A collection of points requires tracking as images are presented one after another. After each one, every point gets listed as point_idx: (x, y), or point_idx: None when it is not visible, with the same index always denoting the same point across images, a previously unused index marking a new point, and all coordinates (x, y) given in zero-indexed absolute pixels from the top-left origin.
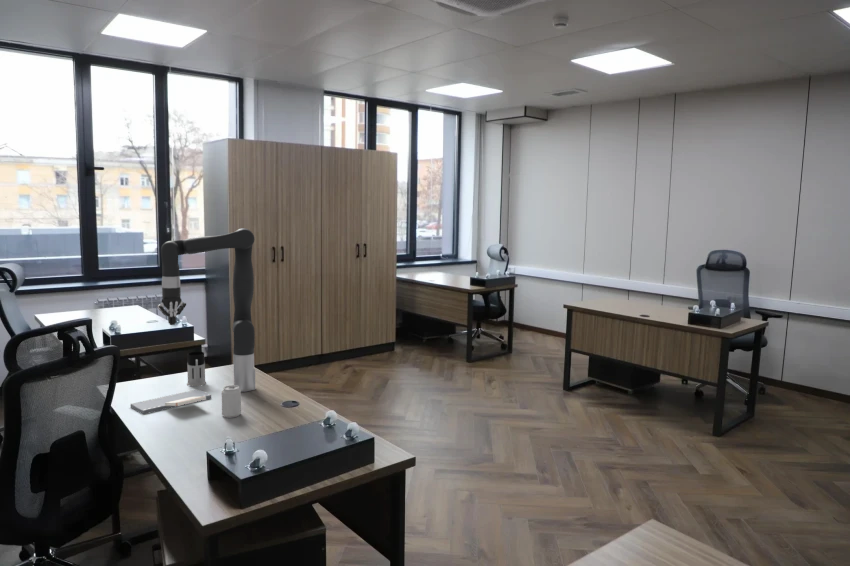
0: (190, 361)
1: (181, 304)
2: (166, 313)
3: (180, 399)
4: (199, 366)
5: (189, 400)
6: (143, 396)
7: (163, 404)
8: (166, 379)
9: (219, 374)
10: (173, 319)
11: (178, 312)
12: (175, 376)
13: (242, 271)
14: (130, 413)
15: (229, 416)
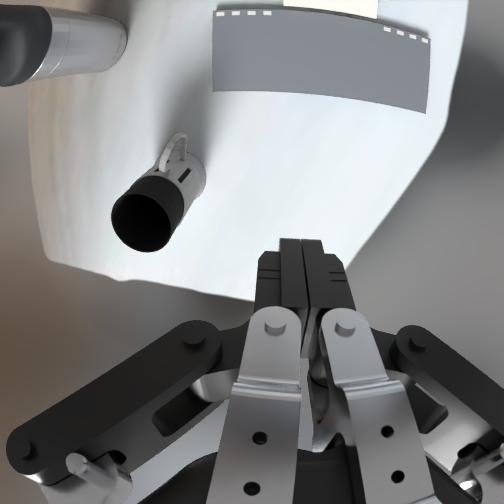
0: (176, 200)
1: (91, 485)
2: (438, 358)
3: (328, 5)
4: (156, 173)
5: None
6: (352, 171)
7: (371, 33)
8: (226, 268)
9: (100, 219)
10: (302, 278)
11: (200, 355)
12: (196, 275)
13: None
14: (441, 71)
15: None
